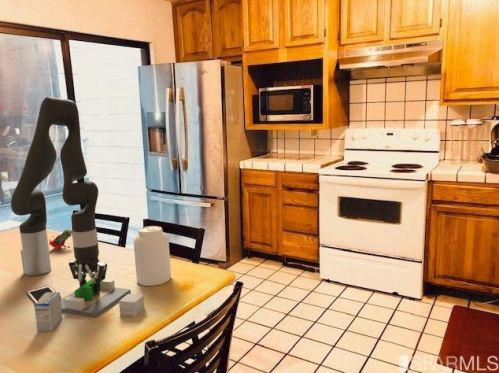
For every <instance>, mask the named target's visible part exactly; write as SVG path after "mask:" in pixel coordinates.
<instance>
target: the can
mask: <svg viewBox="0 0 499 373" xmlns="http://www.w3.org/2000/svg"><path fill="white" fill-rule="evenodd" d="M137 232H138V234H137V235H136V236H135V237H134V239H133V251H134V264H135V275H136V282H137V283H138V284H139V285H141V286H143V287H144V286H145V287H146V286H147V287H154V286H159V285H163V284H165V283H167V282H169V280H170V279H171V276H172V273H171V257H170V244H169V243H170V241H169V237H168V234H166V233H165V232H164V231H163V228H162V227H161V226H157V225H149V226H144V227H141V228H139V230H138V231H137Z"/></svg>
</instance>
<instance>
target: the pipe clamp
mask: <svg viewBox="0 0 499 373" xmlns="http://www.w3.org/2000/svg"><path fill="white" fill-rule="evenodd" d="M95 278H96V276H95ZM73 292H75V297H76V298H83V299H84V300H89V301H92V300H93V298H92V296H93V295H99V294H100V292H99V293H97V294H94V292H93V281H92V278H90V279H89V280H87V282H86V283H85V284H84V285H82V286H81V287H80V286H79V287H78V288H76V289H75V290H74V291H73Z"/></svg>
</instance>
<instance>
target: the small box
mask: <svg viewBox="0 0 499 373" xmlns="http://www.w3.org/2000/svg"><path fill="white" fill-rule="evenodd" d="M118 306H119V316H121V317H123V316H124V317H134V318H137V317H139V315H140V314H141V313H143V311H144V310H145V309H146V308H145V296H144V294H136V293H135V294H133V293H129V294H127V295H126V296H125V297H124V298H122V299H121V300H120V301H118Z"/></svg>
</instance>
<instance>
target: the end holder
mask: <svg viewBox="0 0 499 373" xmlns="http://www.w3.org/2000/svg"><path fill="white" fill-rule="evenodd" d="M127 294H132V293H131V289H128V288H122V287H116V286H115V279H110V278H108V279H107V278H105V280H103V281H101V282H100V294H99V295H93V296H92V298H93V300H92V301H89V300H84V299H83V298H76V297H75V292H74V291H73V292H72V293H70V294H67V295H66V296H65V297H62V298H61V308H62V313H67V314H72V315H80V316H85V317H90V318H91V317H92V318H97V317H98V316H100V315H101V314H103V313H104V312H105V311H107V310H108V309H110V308H111V307H112V306H114V305H115V304H116V303H119V301H120V300H121V299H122V298H124V297H125V296H126V295H127Z"/></svg>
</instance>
